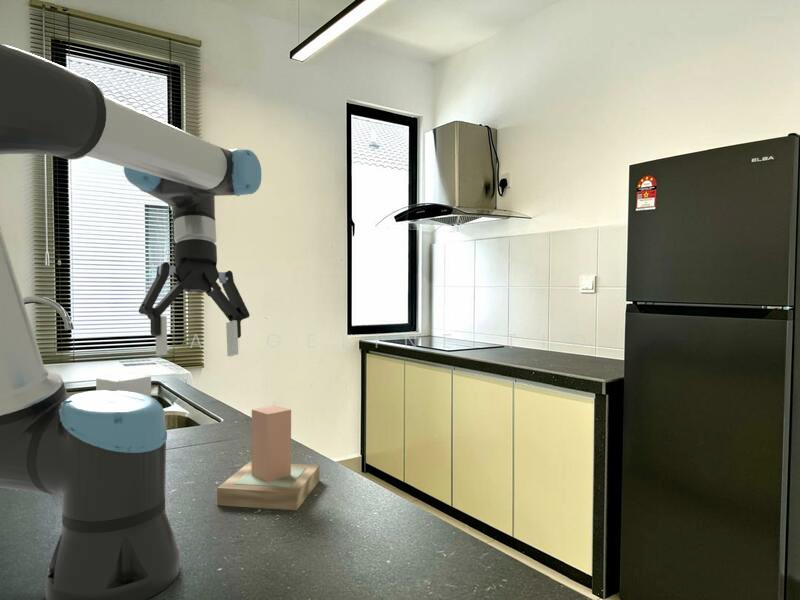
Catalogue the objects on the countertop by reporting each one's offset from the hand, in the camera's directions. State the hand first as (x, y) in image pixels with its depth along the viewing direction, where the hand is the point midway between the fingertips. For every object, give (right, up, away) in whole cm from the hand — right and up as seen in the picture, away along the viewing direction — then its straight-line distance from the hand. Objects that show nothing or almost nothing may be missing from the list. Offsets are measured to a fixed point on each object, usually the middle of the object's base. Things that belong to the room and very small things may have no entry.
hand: (199, 355), depth 99 cm
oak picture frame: (+13, -25, 0) cm, 28 cm away
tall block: (+13, -22, 0) cm, 25 cm away
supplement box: (-30, -24, +33) cm, 50 cm away
